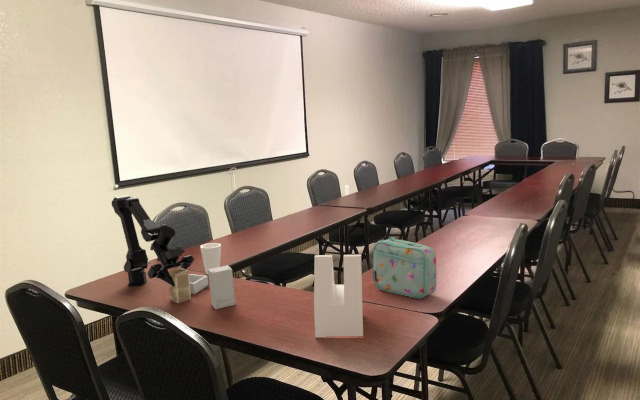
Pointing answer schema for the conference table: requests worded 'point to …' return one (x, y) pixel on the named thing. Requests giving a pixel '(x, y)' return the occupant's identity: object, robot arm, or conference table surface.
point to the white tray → (197, 283)
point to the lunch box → (404, 268)
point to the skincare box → (221, 287)
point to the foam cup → (211, 255)
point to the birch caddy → (180, 285)
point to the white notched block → (338, 298)
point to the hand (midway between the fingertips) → (181, 283)
